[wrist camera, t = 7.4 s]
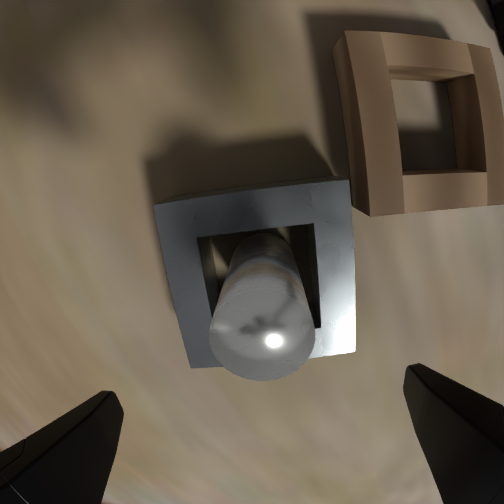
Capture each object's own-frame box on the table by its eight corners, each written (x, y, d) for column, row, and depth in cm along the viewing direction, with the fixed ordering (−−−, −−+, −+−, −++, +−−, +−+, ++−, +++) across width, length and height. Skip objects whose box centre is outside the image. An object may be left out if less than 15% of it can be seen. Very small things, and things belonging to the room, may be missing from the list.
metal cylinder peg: (291, 229, 20) (312, 284, 11) (297, 289, 21) (317, 374, 12) (226, 237, 20) (199, 296, 11) (236, 296, 21) (219, 383, 13)
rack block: (334, 175, 19) (348, 179, 15) (343, 324, 21) (355, 351, 18) (171, 197, 19) (153, 205, 16) (200, 339, 22) (190, 368, 19)
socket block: (462, 59, 16) (489, 48, 12) (479, 196, 18) (508, 204, 15) (331, 50, 17) (344, 30, 13) (352, 206, 19) (370, 216, 16)
